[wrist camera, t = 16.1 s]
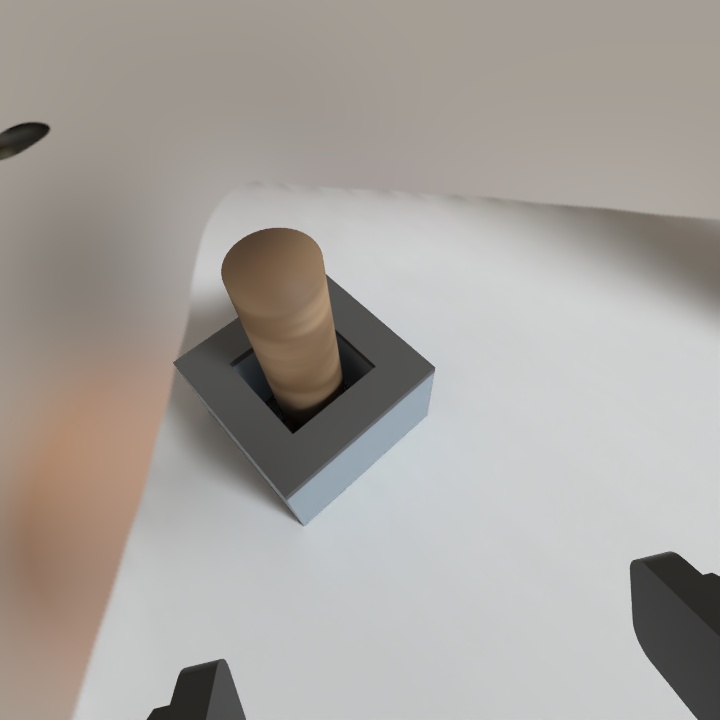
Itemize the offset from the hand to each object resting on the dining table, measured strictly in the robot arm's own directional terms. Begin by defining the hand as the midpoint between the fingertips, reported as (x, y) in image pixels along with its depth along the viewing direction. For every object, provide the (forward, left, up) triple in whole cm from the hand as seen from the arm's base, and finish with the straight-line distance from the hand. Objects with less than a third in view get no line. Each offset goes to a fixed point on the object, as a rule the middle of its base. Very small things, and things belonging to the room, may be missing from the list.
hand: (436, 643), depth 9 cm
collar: (-5, -13, -17) cm, 22 cm away
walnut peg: (-5, -13, -17) cm, 22 cm away
